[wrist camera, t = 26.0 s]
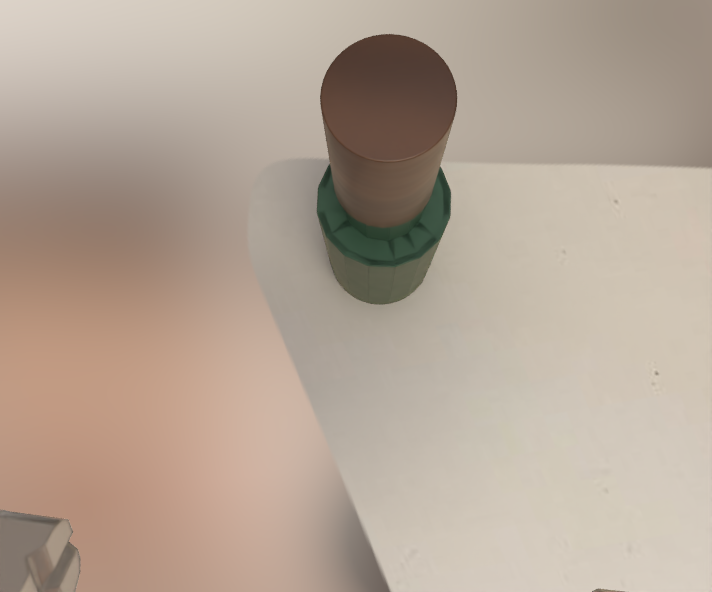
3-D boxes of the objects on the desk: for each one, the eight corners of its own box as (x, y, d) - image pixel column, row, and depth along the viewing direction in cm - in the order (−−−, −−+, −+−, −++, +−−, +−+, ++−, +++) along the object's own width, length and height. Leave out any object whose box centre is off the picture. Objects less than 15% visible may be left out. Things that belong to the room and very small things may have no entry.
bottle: (351, 318, 44) (341, 273, 29) (317, 228, 45) (292, 140, 30) (443, 284, 44) (481, 222, 29) (408, 195, 45) (427, 92, 30)
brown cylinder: (425, 235, 29) (446, 171, 21) (325, 219, 29) (309, 151, 22) (440, 139, 30) (466, 43, 22) (342, 124, 30) (332, 24, 22)
